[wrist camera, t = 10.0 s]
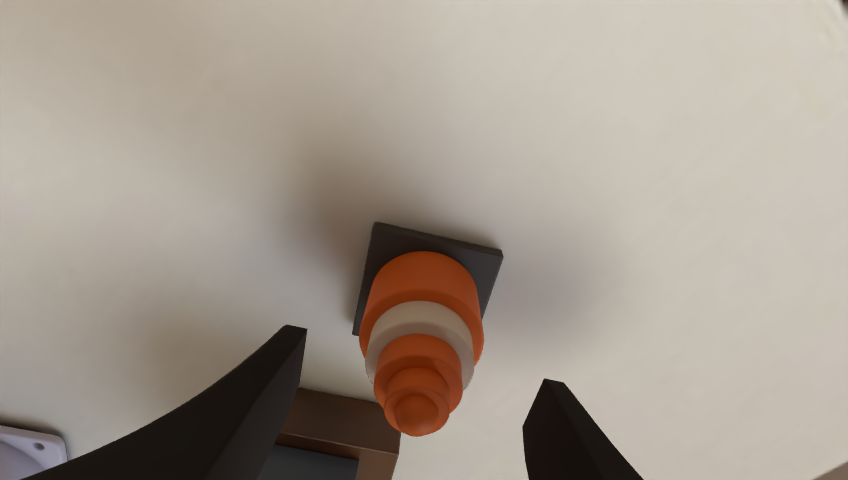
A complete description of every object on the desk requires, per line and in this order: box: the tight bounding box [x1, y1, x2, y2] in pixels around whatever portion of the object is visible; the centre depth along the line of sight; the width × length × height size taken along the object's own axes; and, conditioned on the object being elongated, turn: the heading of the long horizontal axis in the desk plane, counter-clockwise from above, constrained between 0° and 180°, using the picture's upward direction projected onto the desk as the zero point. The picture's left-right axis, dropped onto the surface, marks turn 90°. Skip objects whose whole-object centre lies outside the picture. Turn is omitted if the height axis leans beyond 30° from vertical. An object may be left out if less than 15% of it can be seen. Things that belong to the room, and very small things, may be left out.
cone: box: [352, 222, 503, 437], centre depth 14 cm, size 5×5×7 cm
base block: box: [274, 388, 401, 480], centre depth 21 cm, size 8×8×2 cm
